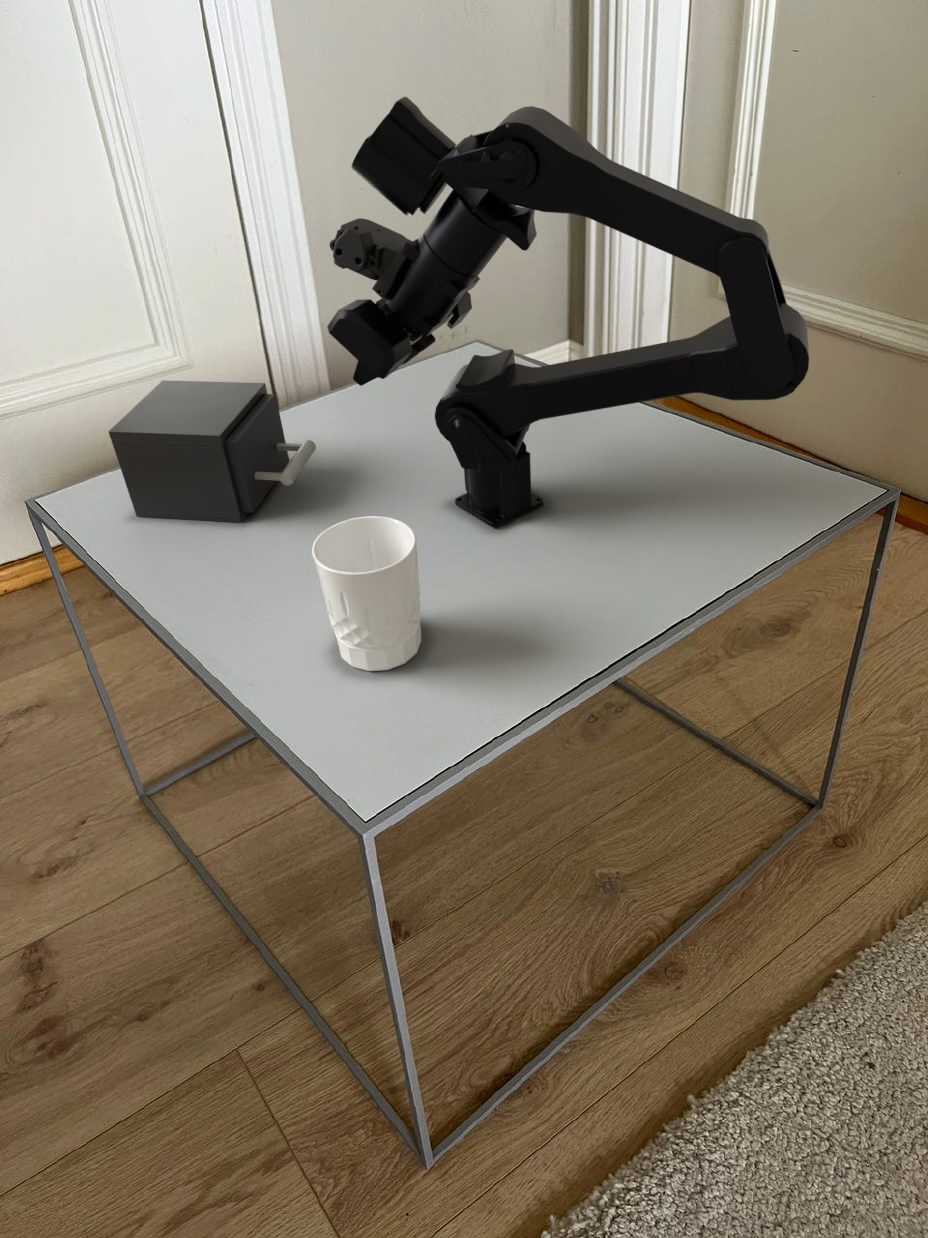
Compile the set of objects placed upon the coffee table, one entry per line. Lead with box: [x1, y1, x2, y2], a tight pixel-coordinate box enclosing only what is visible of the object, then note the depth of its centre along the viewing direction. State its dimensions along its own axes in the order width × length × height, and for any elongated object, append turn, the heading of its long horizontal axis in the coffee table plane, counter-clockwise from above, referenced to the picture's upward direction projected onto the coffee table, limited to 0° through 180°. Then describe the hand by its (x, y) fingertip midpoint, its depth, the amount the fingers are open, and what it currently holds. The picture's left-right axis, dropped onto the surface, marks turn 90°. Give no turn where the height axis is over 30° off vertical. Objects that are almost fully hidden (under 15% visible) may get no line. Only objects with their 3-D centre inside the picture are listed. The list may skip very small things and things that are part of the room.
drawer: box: [225, 393, 317, 513], centre depth 96 cm, size 15×10×8 cm
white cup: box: [311, 515, 422, 672], centre depth 74 cm, size 8×8×10 cm
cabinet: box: [108, 379, 268, 524], centre depth 97 cm, size 12×12×10 cm
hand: (358, 381), depth 89 cm, fingers closed
